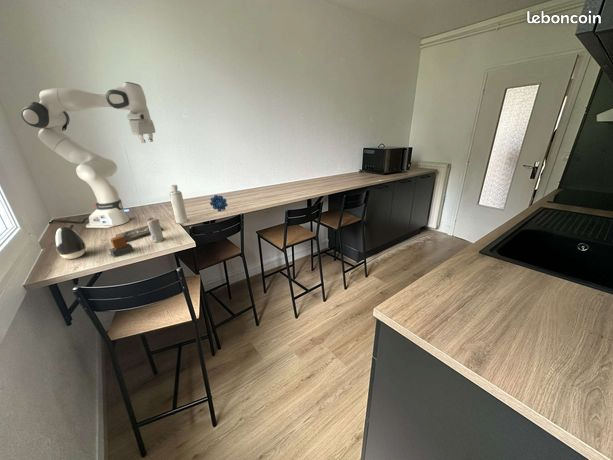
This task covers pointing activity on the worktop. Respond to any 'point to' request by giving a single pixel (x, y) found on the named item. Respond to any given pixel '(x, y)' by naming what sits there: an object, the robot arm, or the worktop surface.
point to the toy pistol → (136, 233)
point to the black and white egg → (69, 243)
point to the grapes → (218, 203)
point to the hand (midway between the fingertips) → (147, 142)
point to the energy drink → (155, 229)
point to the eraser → (120, 246)
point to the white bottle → (178, 205)
